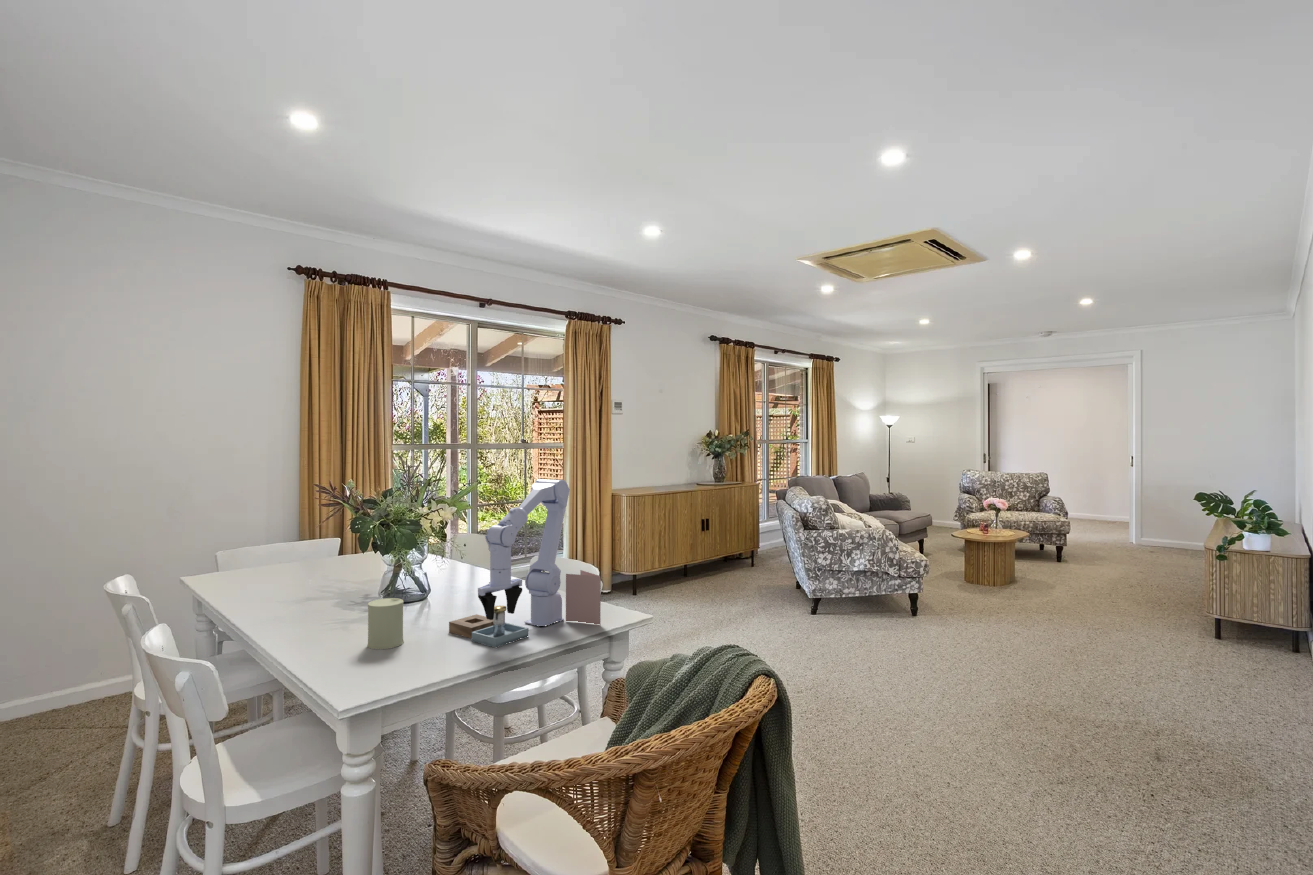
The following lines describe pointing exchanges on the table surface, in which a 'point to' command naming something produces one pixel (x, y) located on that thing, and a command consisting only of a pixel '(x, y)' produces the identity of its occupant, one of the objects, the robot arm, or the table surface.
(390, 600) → the can
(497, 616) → the pin
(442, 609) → the table surface
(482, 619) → the pin stand
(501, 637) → the tray
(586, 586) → the greeting card
